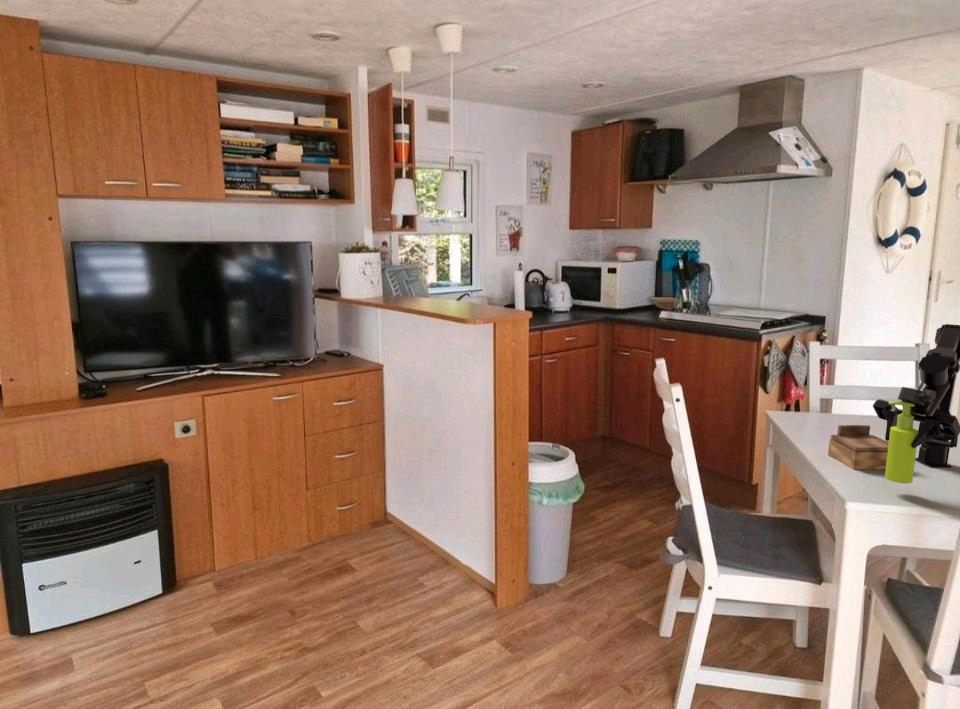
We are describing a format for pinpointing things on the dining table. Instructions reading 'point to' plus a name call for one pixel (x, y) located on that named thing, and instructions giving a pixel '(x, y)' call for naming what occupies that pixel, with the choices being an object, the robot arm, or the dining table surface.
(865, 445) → the lid
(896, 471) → the soap dispenser
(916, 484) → the dining table surface
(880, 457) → the wooden box
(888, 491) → the dining table surface
